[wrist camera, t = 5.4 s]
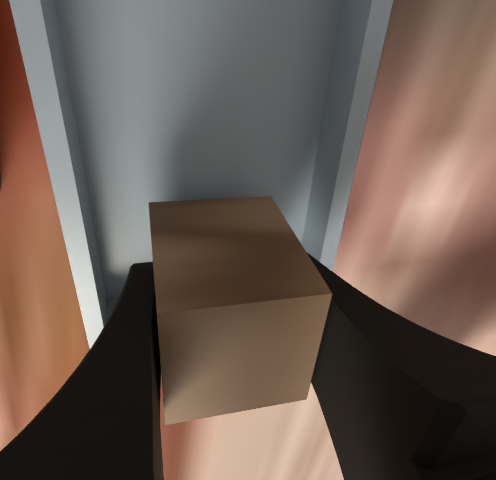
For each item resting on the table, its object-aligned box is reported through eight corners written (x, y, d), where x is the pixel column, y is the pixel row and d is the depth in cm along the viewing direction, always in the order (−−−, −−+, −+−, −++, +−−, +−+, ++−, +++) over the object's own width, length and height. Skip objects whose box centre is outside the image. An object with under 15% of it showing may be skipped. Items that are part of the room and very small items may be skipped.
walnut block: (155, 299, 14) (165, 424, 10) (148, 202, 12) (156, 313, 8) (260, 288, 15) (306, 398, 11) (270, 196, 13) (332, 293, 9)
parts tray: (94, 303, 16) (89, 349, 14) (-4, -185, 8) (-45, -232, 6) (302, 281, 18) (321, 317, 16) (373, -128, 10) (427, -151, 9)
